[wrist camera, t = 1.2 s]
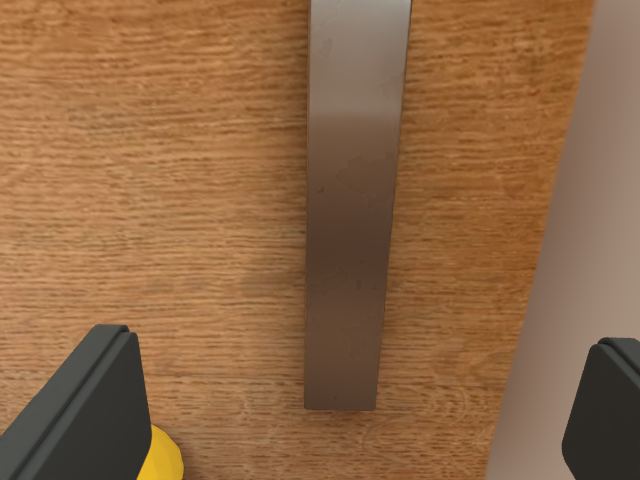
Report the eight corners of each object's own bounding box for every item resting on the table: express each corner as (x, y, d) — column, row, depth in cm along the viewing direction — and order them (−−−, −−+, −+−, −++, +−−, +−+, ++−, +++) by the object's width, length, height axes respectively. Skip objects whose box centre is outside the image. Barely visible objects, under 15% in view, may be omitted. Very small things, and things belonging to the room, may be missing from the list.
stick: (311, -17, 16) (308, -29, 13) (399, -15, 16) (415, -27, 13) (306, 364, 22) (303, 410, 19) (369, 365, 22) (375, 411, 19)
